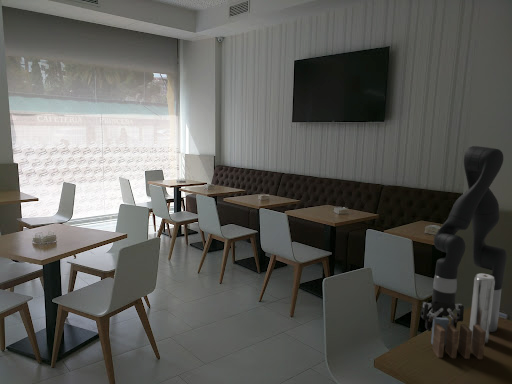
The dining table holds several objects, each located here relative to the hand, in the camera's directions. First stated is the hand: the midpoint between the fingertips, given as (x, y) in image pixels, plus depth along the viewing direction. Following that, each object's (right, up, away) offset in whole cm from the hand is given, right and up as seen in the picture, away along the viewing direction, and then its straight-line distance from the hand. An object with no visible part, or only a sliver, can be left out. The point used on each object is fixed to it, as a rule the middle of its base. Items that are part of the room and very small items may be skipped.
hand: (440, 330), depth 142 cm
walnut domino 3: (+6, -7, -5) cm, 10 cm away
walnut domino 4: (+10, -7, -5) cm, 13 cm away
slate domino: (0, -5, +1) cm, 6 cm away
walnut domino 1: (-3, -6, -5) cm, 9 cm away
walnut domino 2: (+1, -6, -5) cm, 8 cm away
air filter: (+17, -5, +6) cm, 19 cm away
